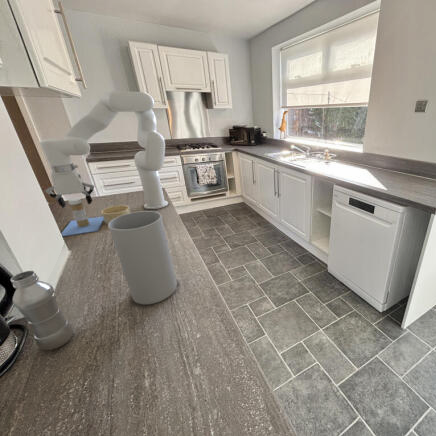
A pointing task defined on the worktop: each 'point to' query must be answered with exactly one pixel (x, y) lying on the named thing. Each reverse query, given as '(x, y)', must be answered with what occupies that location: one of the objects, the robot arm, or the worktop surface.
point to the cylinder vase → (144, 255)
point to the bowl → (114, 212)
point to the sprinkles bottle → (79, 212)
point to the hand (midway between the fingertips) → (77, 204)
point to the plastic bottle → (41, 310)
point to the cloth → (92, 227)
